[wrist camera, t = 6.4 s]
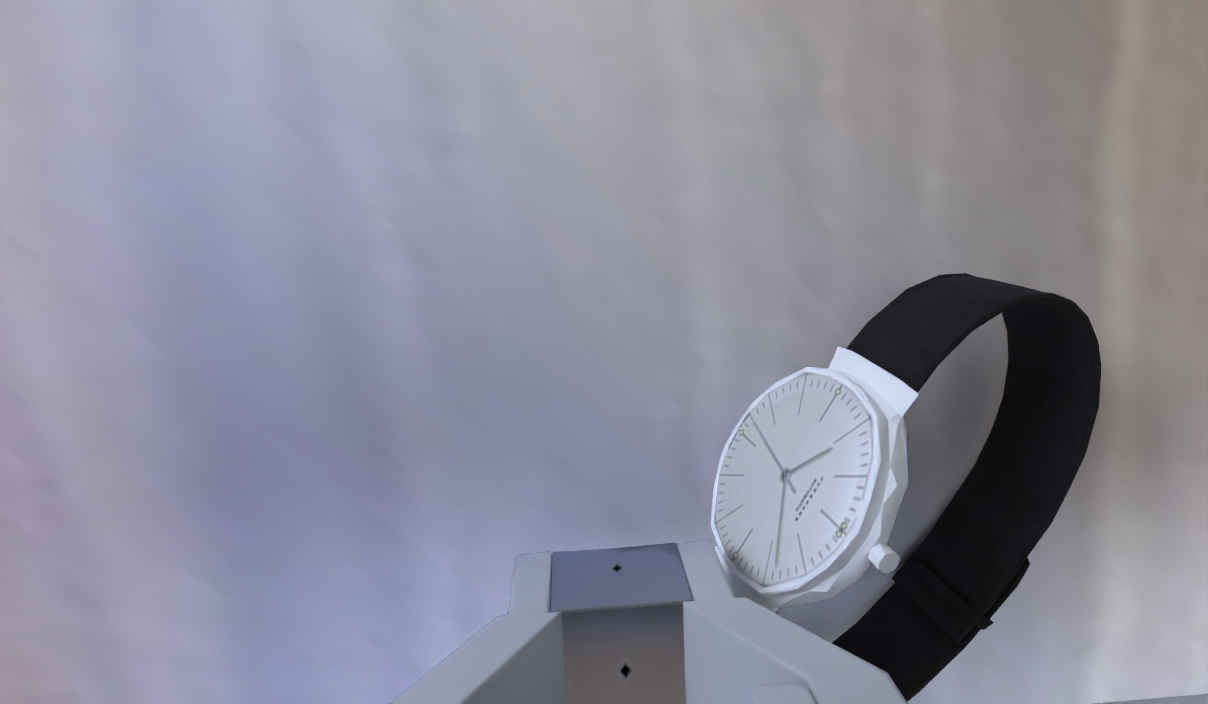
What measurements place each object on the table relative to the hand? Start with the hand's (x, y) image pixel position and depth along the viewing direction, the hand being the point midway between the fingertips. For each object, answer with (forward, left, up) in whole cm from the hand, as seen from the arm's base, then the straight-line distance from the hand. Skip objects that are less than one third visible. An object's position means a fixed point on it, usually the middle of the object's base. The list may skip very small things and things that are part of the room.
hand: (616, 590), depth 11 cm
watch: (-1, +4, -2) cm, 5 cm away
